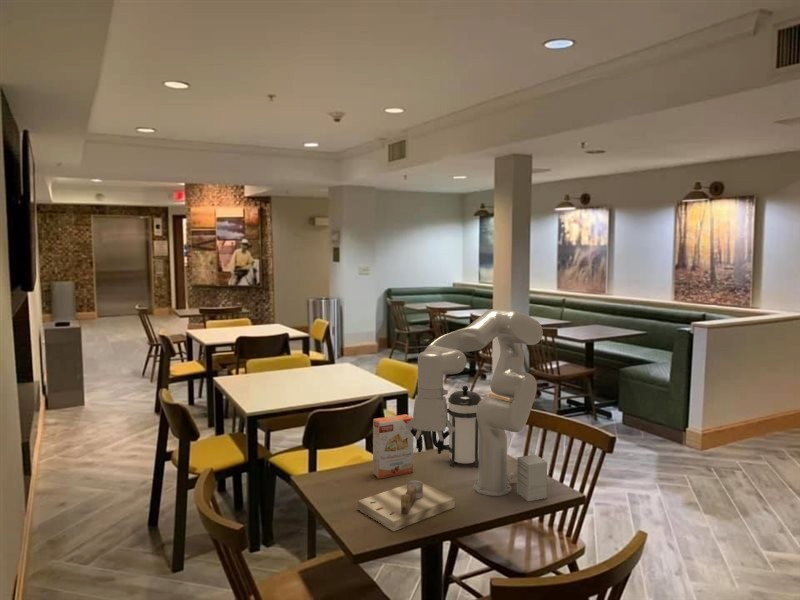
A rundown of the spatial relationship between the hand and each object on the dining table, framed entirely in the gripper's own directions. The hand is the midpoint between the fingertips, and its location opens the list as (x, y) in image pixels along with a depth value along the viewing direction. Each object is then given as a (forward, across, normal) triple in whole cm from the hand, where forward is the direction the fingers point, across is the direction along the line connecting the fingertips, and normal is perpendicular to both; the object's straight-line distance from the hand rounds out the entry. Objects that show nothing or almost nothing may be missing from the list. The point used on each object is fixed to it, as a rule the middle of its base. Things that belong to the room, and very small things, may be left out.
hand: (430, 451), depth 178 cm
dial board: (+21, +8, -5) cm, 24 cm away
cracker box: (+22, +20, -32) cm, 43 cm away
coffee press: (+22, -3, -49) cm, 53 cm away
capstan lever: (+18, +7, -2) cm, 19 cm away
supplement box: (+22, -30, -25) cm, 44 cm away
